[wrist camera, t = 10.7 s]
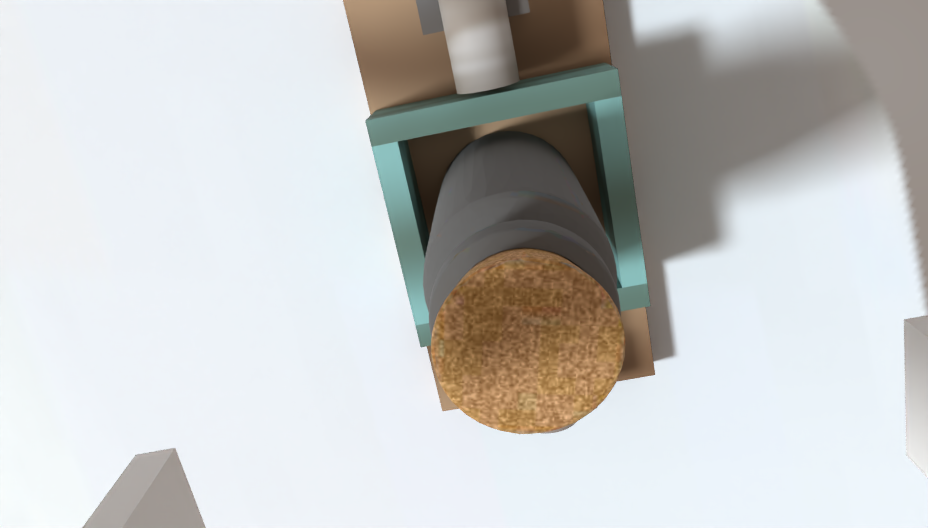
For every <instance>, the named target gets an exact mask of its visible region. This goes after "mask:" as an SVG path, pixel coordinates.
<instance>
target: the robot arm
mask: <svg viewBox="0 0 928 528" xmlns="http://www.w3.org/2000/svg"><path fill="white" fill-rule="evenodd" d="M904 347H905V409H906V456H907V457H908V458H909V459H910V460H911V461H912V462H913V463H914V464H915V465H916V466H917V467H918V468H919V470H920V471H921V472H922V473H923V474H924V475H925V476H926V477H927V478H928V315H927V316H921V317H915V318H910V319H904ZM83 528H206V527H205V525H204V522H203V520H202V517H201V514H200V512H199V509H198V507H197V504H196V501H195V499H194V496H193V493H192V491H191V488H190V486H189V483H188V480H187V478H186V475H185V473H184V470H183V467H182V465H181V462H180V460H179V457H178V454H177V452H176V449H175V448H172V449H166V450H161V451H155V452H149V453H143V454H138V455H135V457H134V458H133V459H132V461H131V462H130V463H129V465H128V466H127V468H126V469H125V470H124V472H123V473H122V474H121V476H120V477H119V478H118V480H117V481H116V483H115V484H114V485H113V487H112V488H111V489H110V491H109V492H108V493H107V495H106V496H105V498H104V499H103V500H102V502H101V503H100V504H99V506H98V507H97V508H96V510H95V511H94V513H93V514H92V515H91V517H90V518H89V519H88V521H87V522H86V523H85V525H84V526H83Z"/></svg>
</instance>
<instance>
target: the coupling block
mask: <svg viewBox="0 0 928 528" xmlns="http://www.w3.org/2000/svg"><path fill="white" fill-rule="evenodd" d="M343 2H344V6H345V10H346V15H347V19H348V23H349V27H350V31H351V35H352V39H353V43H354V48H355V52H356V56H357V60H358V64H359V68H360V72H361V76H362V81H363V85H364V89H365V93H366V97H367V101H368V105H369V110H370V114H371V116H370V117H369V118H368V119H367V120H366V125H367V129H368V134H369V138H370V142H371V146H372V150H373V154H374V158H375V162H376V166H377V170H378V174H379V178H380V183H381V187H382V191H383V195H384V199H385V203H386V207H387V211H388V215H389V219H390V223H391V227H392V231H393V236H394V240H395V244H396V248H397V252H398V256H399V260H400V264H401V268H402V272H403V276H404V280H405V285H406V289H407V293H408V297H409V301H410V305H411V309H412V313H413V317H414V321H415V325H416V329H417V333H418V338H419V342H420V346H421V347H425V346H427V349H428V353H429V357H430V361H431V365H432V370H433V374H434V378H435V382H436V386H437V390H438V394H439V398H440V403H441V407H442V411H447V410H453V409H459V408H458V407H457V406H456V405H455V404H454V403H453V402H452V401H451V399H450V398H449V397H448V396H447V394H446V393H445V391H444V390H443V388H442V386H441V385H440V383H439V380H438V378H437V375H436V372H435V369H434V366H433V362H432V356H431V338H432V337H431V333H430V327H429V312H428V308H427V305H426V302H425V297H424V289H423V274H424V262H425V256H426V251H427V246H428V242H429V237H430V232H431V228H432V223H433V219H434V214H435V210H436V205H437V201H438V197H439V193H440V189H441V185H442V181H443V179H444V176H445V173H446V171H447V169H448V167H449V165H450V164H451V162H452V161H453V159H454V158H455V157H456V156H457V155H458V153H459V152H460V151H461V150H462V149H463V148H465V147H466V146H467V145H468V144H470V143H471V142H473V141H475V140H476V139H478V138H480V137H482V136H484V135H488V134H492V133H496V132H502V131H519V132H524V133H528V134H532V135H534V136H537V137H539V138H541V139H543V140H545V141H546V142H548V143H549V144H551V145H552V146H553V147H555V148H556V149H557V150H558V151H559V152H560V153H561V155H562V156H563V157H564V158H565V159H566V161H567V162H568V164H569V165H570V167H571V169H572V171H573V172H574V174H575V176H576V177H577V179H578V181H579V183H580V185H581V187H582V189H583V191H584V193H585V194H586V196H587V198H588V200H589V202H590V204H591V206H592V208H593V210H594V212H595V213H596V215H597V217H598V219H599V221H600V223H601V225H602V227H603V229H604V231H605V234H606V236H607V238H608V240H609V243H610V245H611V248H612V251H613V254H614V258H615V263H616V269H617V291H618V295H619V301H620V308H621V320H622V322H623V326H624V333H625V357H624V361H623V365H622V368H621V371H620V374H619V376H618V379H617V381H622V380H628V379H634V378H640V377H645V376H651V375H655V370H654V363H653V356H652V349H651V342H650V335H649V327H648V320H647V313H646V307H648V306H650V300H649V293H648V285H647V278H646V271H645V263H644V256H643V249H642V242H641V234H640V227H639V220H638V213H637V205H636V198H635V191H634V184H633V176H632V169H631V162H630V154H629V147H628V140H627V133H626V125H625V118H624V111H623V104H622V96H621V89H620V82H619V75H618V69H617V68H615V67H613V66H612V63H611V56H610V48H609V41H608V34H607V27H606V20H605V13H604V6H603V0H343ZM596 408H597V407H596ZM576 422H577V421H576ZM576 422H575V423H576ZM575 423H573V424H570V425H568V426H565V427H563V428H560V429H557V430H553V431H549V432H543V433H555V432H559V431H562V430H565V429H567V428H569V427H571V426H572V425H574V424H575Z"/></svg>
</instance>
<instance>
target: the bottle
mask: <svg viewBox="0 0 928 528" xmlns="http://www.w3.org/2000/svg"><path fill="white" fill-rule="evenodd" d="M423 289H424V297H425V302H426V305H427V308H428V312H429V327H430V333H431V337H432V338H431V356H432V362H433V366H434V369H435V372H436V375H437V378H438V380H439V383H440V385H441V386H442V388H443V390H444V391H445V393H446V394H447V396H448V397H449V398H450V399H451V401H452V402H453V403H454V404H455V405H456V406H457V407H458V408H459V409H461V410H462V411H463V412H464V413H465V414H466V415H468V416H469V417H471V418H473V419H474V420H476V421H478V422H479V423H481V424H484V425H486V426H489V427H491V428H494V429H497V430H500V431H506V432H512V433H518V434H532V433H543V432H549V431H553V430H557V429H560V428H563V427H565V426H568V425H570V424H573V423H575V422H576V421H578V420H580V419H581V418H583V417H584V416H586V415H587V414H589V413H590V412H592V411H593V410H594V409H595V408H596V407H597V406H598V405H599V404H600V403H601V402H602V401H603V400H604V399H605V398H606V397H607V395H608V394H609V392H610V391H611V390H612V388H613V387H614V385H615V383H616V381H617V379H618V376H619V374H620V371H621V368H622V365H623V361H624V357H625V333H624V326H623V322H622V320H621V308H620V301H619V295H618V291H617V269H616V263H615V258H614V254H613V251H612V248H611V245H610V243H609V240H608V238H607V236H606V234H605V231H604V229H603V227H602V225H601V223H600V221H599V219H598V217H597V215H596V213H595V212H594V210H593V208H592V206H591V204H590V202H589V200H588V198H587V196H586V194H585V193H584V191H583V189H582V187H581V185H580V183H579V181H578V179H577V177H576V176H575V174H574V172H573V171H572V169H571V167H570V165H569V164H568V162H567V161H566V159H565V158H564V157H563V156H562V155H561V153H560V152H559V151H558V150H557V149H556V148H555V147H553V146H552V145H551V144H549V143H548V142H546V141H545V140H543V139H541V138H539V137H537V136H534V135H532V134H528V133H524V132H519V131H502V132H496V133H492V134H488V135H484V136H482V137H480V138H478V139H476V140H475V141H473V142H471V143H470V144H468V145H467V146H466V147H465V148H463V149H462V150H461V151H460V152H459V153H458V155H457V156H456V157H455V158H454V159H453V161H452V162H451V164H450V165H449V167H448V169H447V171H446V173H445V176H444V179H443V181H442V185H441V189H440V193H439V197H438V201H437V205H436V210H435V214H434V219H433V223H432V228H431V232H430V237H429V242H428V246H427V251H426V256H425V262H424V274H423Z"/></svg>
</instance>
